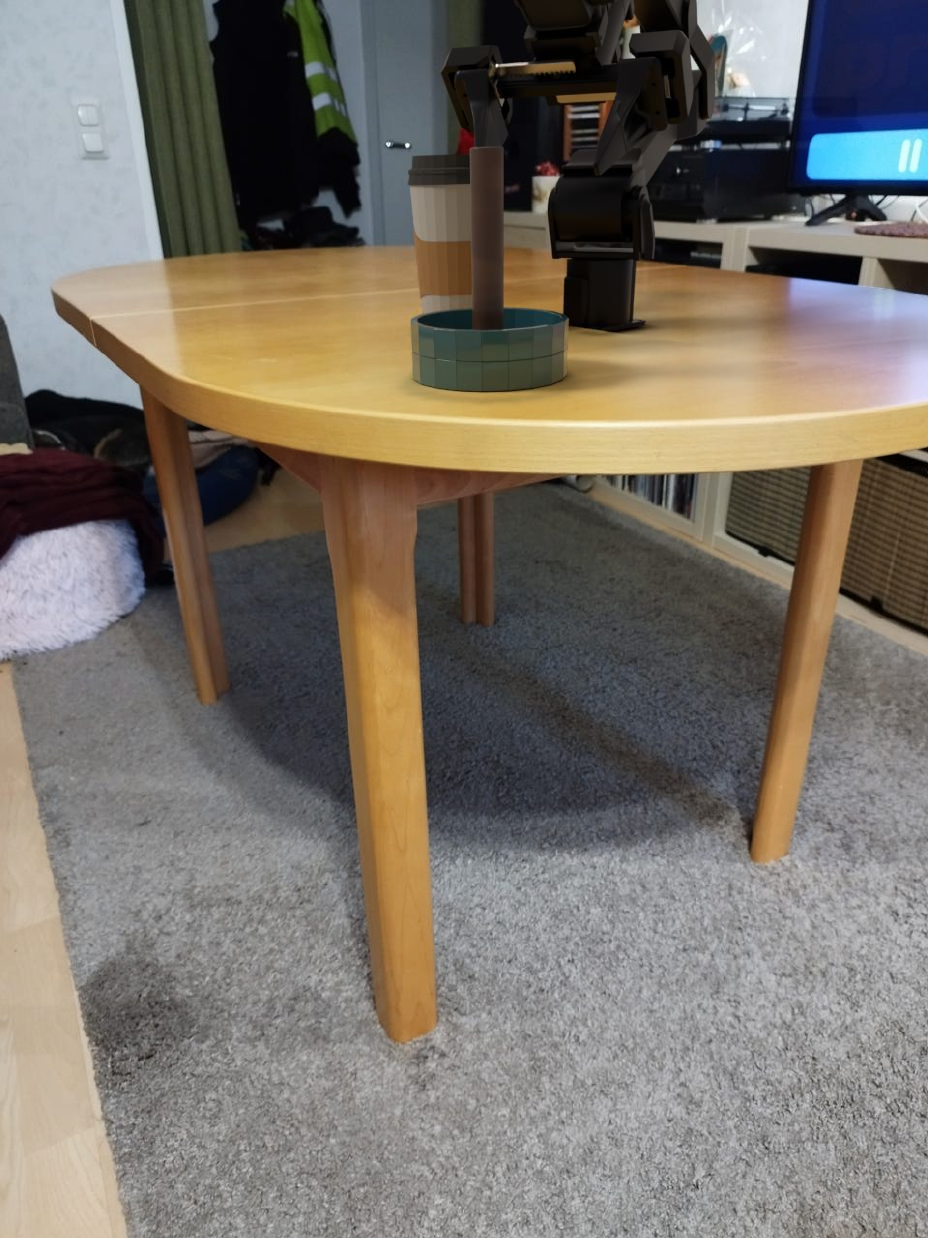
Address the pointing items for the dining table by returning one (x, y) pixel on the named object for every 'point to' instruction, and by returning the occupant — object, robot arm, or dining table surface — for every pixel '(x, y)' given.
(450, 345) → the bowl
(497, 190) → the stick
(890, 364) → the dining table surface
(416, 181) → the coffee cup
